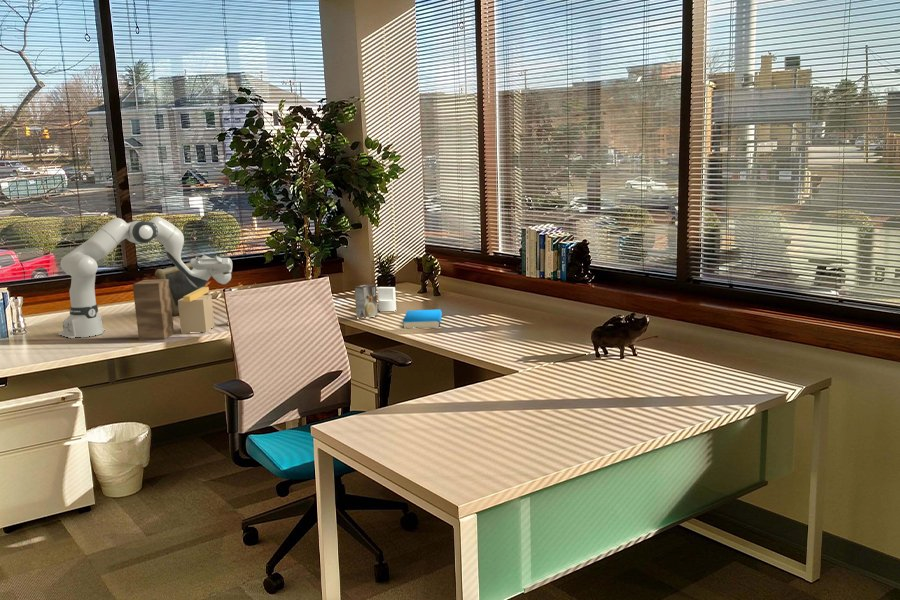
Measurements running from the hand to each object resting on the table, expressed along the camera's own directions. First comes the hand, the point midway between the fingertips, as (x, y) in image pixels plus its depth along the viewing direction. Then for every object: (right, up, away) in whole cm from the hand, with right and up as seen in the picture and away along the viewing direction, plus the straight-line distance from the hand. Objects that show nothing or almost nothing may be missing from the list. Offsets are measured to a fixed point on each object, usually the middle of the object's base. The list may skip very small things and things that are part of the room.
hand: (206, 257), depth 417 cm
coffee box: (+80, -30, -1) cm, 85 cm away
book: (+108, -32, -18) cm, 114 cm away
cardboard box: (0, -35, -15) cm, 38 cm away
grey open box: (-23, -27, +40) cm, 53 cm away
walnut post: (-16, -38, -24) cm, 48 cm away
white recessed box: (+89, -27, +14) cm, 94 cm away
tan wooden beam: (0, -19, -15) cm, 24 cm away
